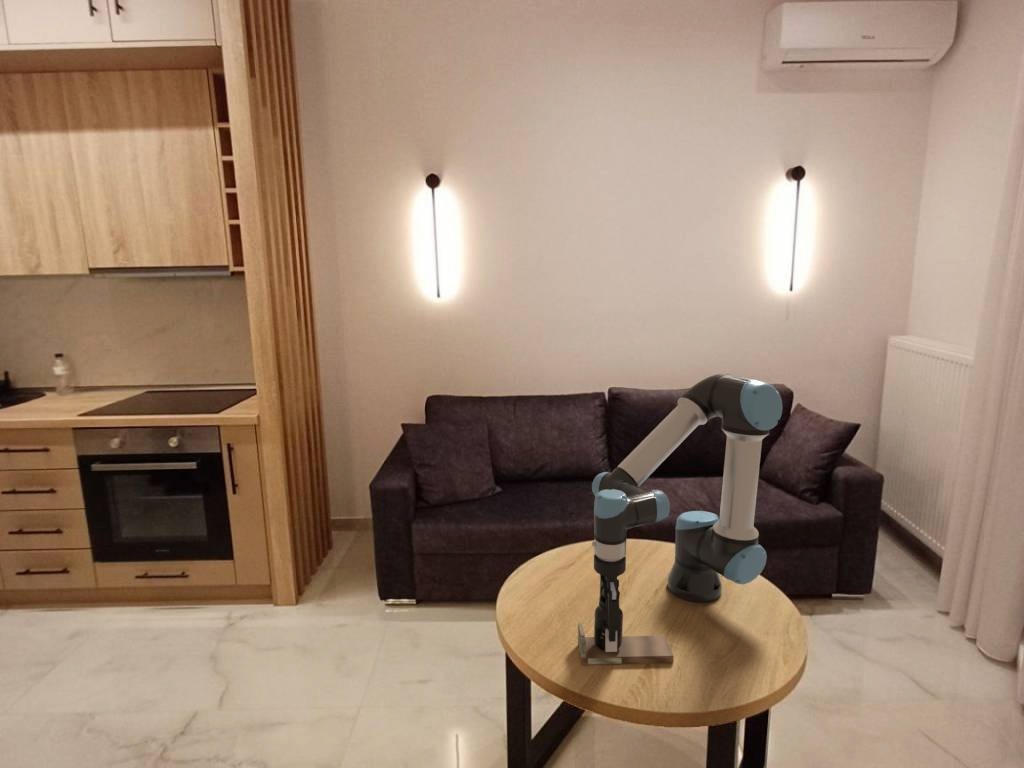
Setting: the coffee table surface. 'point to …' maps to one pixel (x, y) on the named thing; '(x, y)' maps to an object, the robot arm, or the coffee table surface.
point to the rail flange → (625, 650)
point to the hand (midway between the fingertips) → (608, 641)
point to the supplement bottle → (601, 622)
